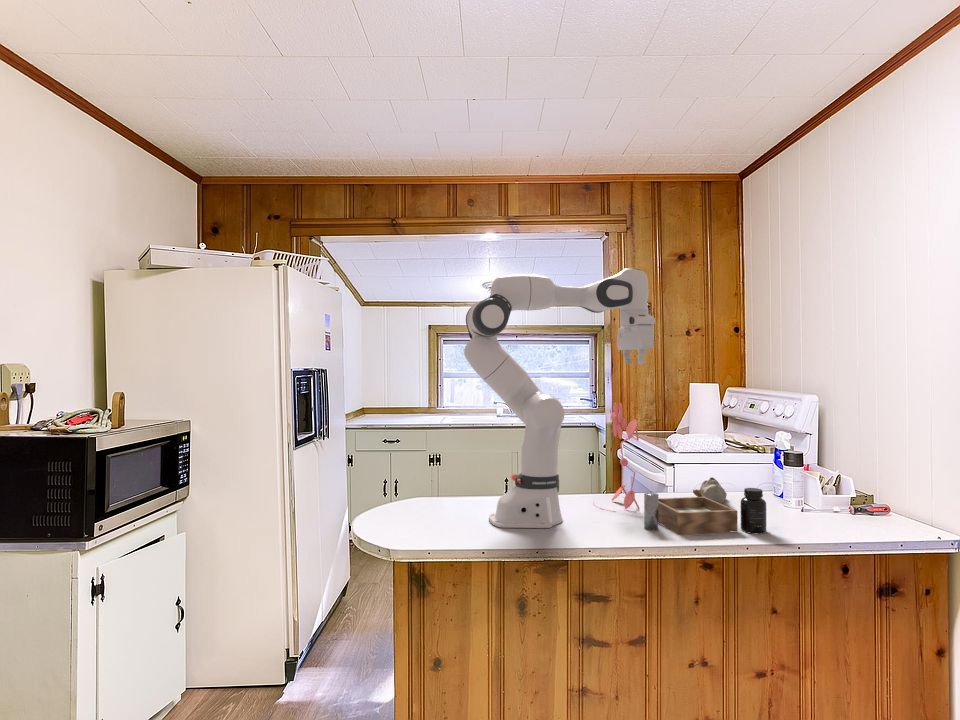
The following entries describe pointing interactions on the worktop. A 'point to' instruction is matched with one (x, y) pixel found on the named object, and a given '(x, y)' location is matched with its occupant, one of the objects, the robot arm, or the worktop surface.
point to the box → (696, 515)
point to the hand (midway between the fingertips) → (634, 364)
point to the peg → (651, 511)
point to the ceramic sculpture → (711, 491)
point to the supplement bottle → (753, 511)
